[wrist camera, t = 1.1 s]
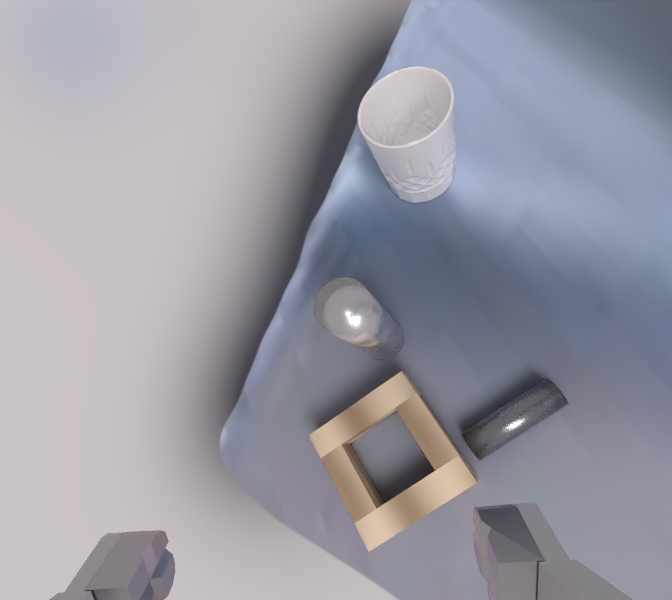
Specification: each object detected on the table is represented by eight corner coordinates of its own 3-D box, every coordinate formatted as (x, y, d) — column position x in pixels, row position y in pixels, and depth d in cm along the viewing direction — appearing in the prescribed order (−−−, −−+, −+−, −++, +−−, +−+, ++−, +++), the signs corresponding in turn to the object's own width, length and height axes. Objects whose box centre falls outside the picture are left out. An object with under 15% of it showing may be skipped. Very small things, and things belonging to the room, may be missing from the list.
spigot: (388, 310, 39) (350, 266, 28) (412, 343, 37) (381, 310, 26) (355, 334, 39) (304, 300, 28) (377, 368, 38) (332, 345, 27)
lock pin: (545, 382, 33) (545, 373, 31) (568, 407, 31) (568, 399, 30) (464, 436, 34) (458, 430, 32) (482, 462, 32) (477, 458, 31)
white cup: (370, 176, 44) (340, 112, 35) (427, 128, 43) (412, 50, 34) (415, 223, 40) (394, 165, 31) (478, 172, 40) (475, 97, 31)
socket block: (406, 374, 36) (401, 370, 34) (478, 478, 32) (477, 482, 30) (319, 434, 38) (308, 435, 35) (376, 543, 33) (368, 551, 31)
